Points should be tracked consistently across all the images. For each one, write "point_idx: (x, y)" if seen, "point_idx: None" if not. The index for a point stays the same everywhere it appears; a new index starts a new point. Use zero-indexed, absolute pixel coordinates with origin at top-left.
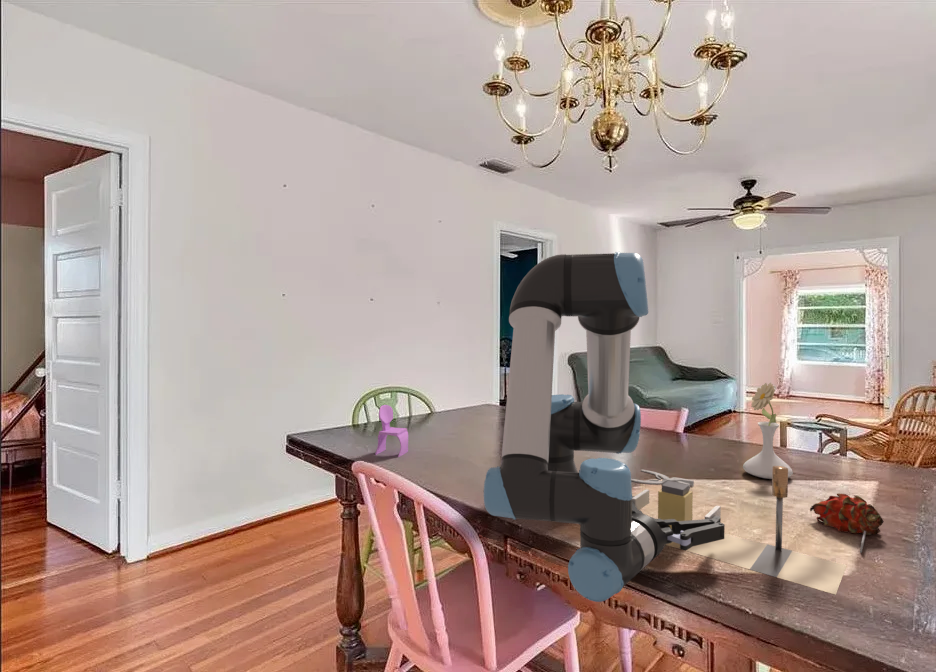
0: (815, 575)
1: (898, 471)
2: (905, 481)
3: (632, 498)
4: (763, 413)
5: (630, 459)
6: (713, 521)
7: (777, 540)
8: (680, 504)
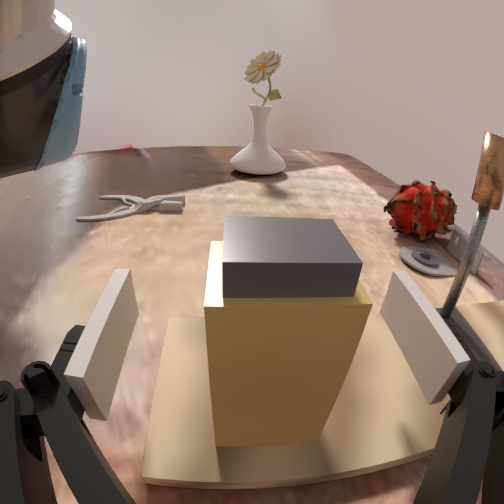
0: None
1: (337, 156)
2: (353, 163)
3: (67, 374)
4: (256, 92)
5: (84, 185)
6: (495, 373)
7: (454, 301)
8: (339, 341)
